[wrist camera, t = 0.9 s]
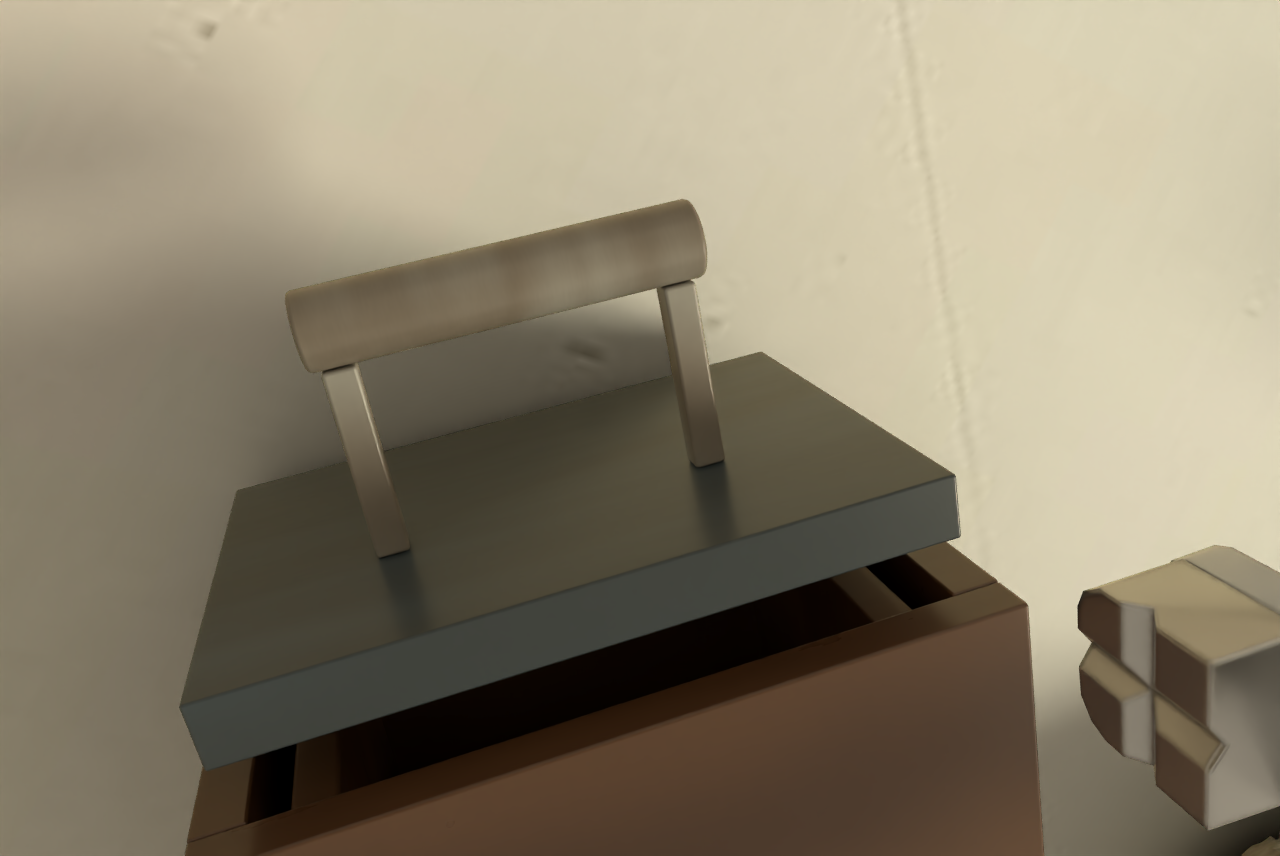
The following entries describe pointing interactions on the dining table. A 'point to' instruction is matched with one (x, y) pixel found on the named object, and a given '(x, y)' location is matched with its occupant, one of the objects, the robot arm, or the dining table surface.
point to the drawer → (540, 525)
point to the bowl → (1265, 848)
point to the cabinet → (722, 757)
